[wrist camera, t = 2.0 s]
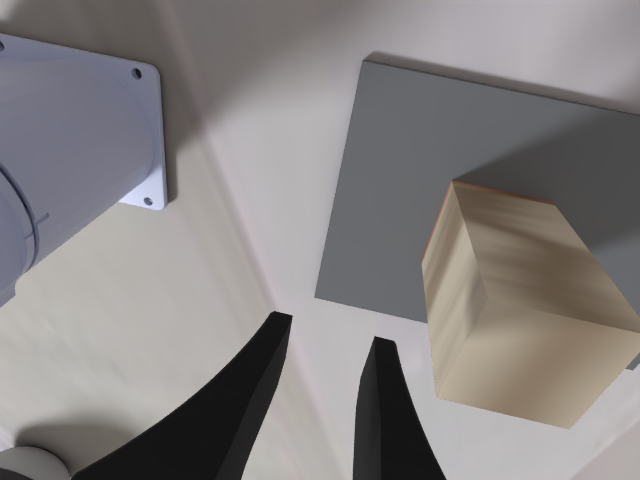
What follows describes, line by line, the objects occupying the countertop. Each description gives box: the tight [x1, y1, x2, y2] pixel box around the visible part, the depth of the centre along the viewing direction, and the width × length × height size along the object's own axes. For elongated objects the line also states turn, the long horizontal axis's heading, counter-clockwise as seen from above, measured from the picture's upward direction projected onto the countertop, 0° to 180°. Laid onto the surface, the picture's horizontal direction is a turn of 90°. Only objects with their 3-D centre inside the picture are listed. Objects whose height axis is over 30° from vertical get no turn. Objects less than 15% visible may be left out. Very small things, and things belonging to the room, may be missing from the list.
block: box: [421, 180, 640, 429], centre depth 17 cm, size 5×5×9 cm
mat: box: [314, 60, 640, 370], centre depth 21 cm, size 20×14×1 cm
